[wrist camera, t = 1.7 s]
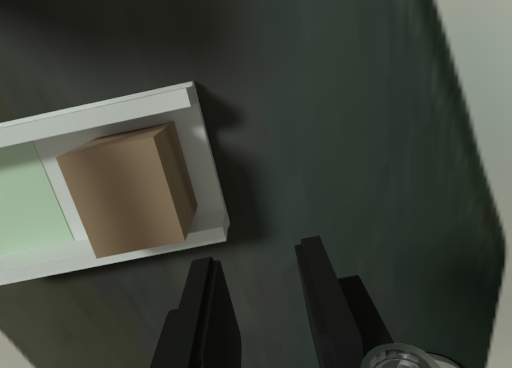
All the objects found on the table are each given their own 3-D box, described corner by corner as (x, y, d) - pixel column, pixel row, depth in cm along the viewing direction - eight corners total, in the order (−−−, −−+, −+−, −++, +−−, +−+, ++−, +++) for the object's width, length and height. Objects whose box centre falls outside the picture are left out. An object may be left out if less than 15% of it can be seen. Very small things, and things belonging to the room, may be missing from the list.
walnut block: (173, 121, 26) (153, 136, 21) (197, 206, 28) (185, 241, 23) (97, 137, 26) (55, 157, 21) (126, 220, 29) (96, 258, 23)
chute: (193, 80, 27) (184, 83, 23) (229, 222, 30) (226, 244, 27) (-54, 135, 27) (-102, 146, 24) (11, 265, 31) (-22, 292, 27)
